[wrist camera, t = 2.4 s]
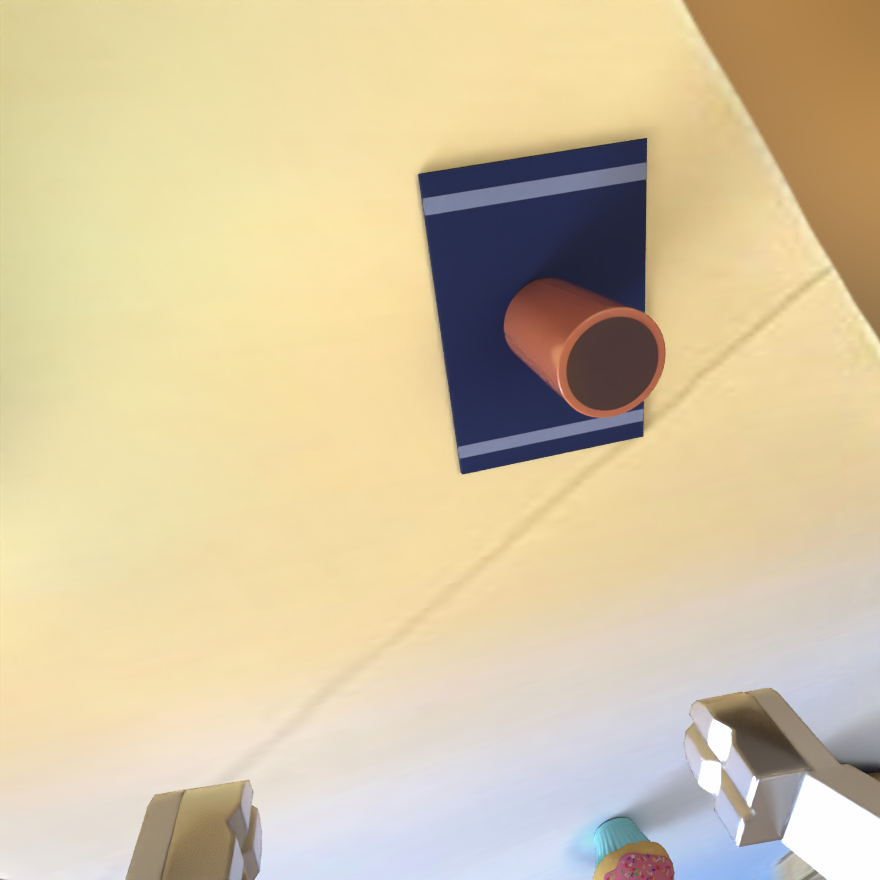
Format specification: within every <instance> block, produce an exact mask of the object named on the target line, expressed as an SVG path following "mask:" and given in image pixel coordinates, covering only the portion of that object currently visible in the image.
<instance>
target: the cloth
mask: <svg viewBox="0 0 880 880" xmlns="http://www.w3.org/2000/svg"><path fill="white" fill-rule="evenodd" d="M418 176H419V183H420V190H421V197H422V204H423V211H424V218H425V225H426V231H427V238H428V245H429V252H430V259H431V266H432V273H433V280H434V287H435V294H436V301H437V308H438V315H439V322H440V329H441V336H442V343H443V350H444V357H445V364H446V371H447V378H448V385H449V392H450V399H451V406H452V413H453V420H454V427H455V434H456V441H457V448H458V455H459V462H460V469H461V473H462V474H467V473H472V472H476V471H481V470H486V469H491V468H495V467H500V466H505V465H510V464H514V463H519V462H524V461H529V460H533V459H538V458H543V457H548V456H552V455H557V454H562V453H567V452H571V451H576V450H581V449H586V448H590V447H595V446H600V445H605V444H609V443H614V442H619V441H624V440H628V439H633V438H638V437H643V420H644V401H642V402H641V403H640V404H639V405H637V406H636V407H634V408H633V409H631V410H629V411H627V412H626V413H623V414H620V415H617V416H613V417H606V418H597V417H591V416H587V415H584V414H582V413H580V412H578V411H577V410H575V409H574V408H573V407H571V406H570V405H569V404H568V403H567V402H566V401H565V400H564V399H563V398H562V397H561V396H559V395H558V394H557V393H556V392H555V391H554V390H553V389H552V388H551V387H550V386H549V385H548V384H546V383H545V382H544V381H543V380H542V379H541V378H540V377H539V376H538V375H537V374H536V373H535V372H533V371H532V370H531V369H530V368H529V367H528V366H527V365H526V364H525V363H524V362H523V361H522V360H521V359H519V358H518V357H517V356H516V355H515V354H514V353H513V351H512V350H511V349H510V347H509V346H508V343H507V341H506V338H505V333H504V320H505V315H506V311H507V309H508V306H509V304H510V302H511V301H512V299H513V298H514V296H515V295H516V294H517V293H518V292H519V291H520V290H521V289H522V288H523V287H525V286H526V285H528V284H529V283H531V282H533V281H536V280H538V279H542V278H559V279H563V280H566V281H568V282H571V283H573V284H575V285H578V286H580V287H583V288H585V289H588V290H590V291H593V292H595V293H598V294H600V295H602V296H605V297H607V298H610V299H612V300H615V301H617V302H620V303H622V304H625V305H627V306H629V307H632V308H634V309H637V310H639V311H641V312H643V313H645V257H646V179H647V138H644V139H637V140H631V141H625V142H618V143H612V144H606V145H599V146H593V147H587V148H580V149H574V150H567V151H561V152H555V153H548V154H542V155H536V156H529V157H523V158H517V159H510V160H504V161H498V162H491V163H485V164H479V165H472V166H466V167H459V168H453V169H447V170H440V171H434V172H428V173H421V174H418Z"/></svg>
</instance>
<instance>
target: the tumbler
mask: <svg viewBox="0 0 880 880" xmlns="http://www.w3.org/2000/svg"><path fill="white" fill-rule="evenodd" d="M504 333H505V338H506V341H507V343H508V346H509V347H510V349H511V350H512V351H513V353H514V354H515V355H516V356H517V357H518V358H519V359H521V360H522V361H523V362H524V363H525V364H526V365H527V366H528V367H529V368H530V369H531V370H532V371H533V372H535V373H536V374H537V375H538V376H539V377H540V378H541V379H542V380H543V381H544V382H545V383H546V384H548V385H549V386H550V387H551V388H552V389H553V390H554V391H555V392H556V393H557V394H558V395H559V396H561V397H562V398H563V399H564V400H565V401H566V402H567V403H568V404H569V405H570V406H571V407H573V408H574V409H575V410H577V411H578V412H580V413H582V414H584V415H587V416H591V417H597V418H606V417H613V416H617V415H620V414H623V413H626V412H627V411H629V410H631V409H633V408H634V407H636V406H637V405H639V404H640V403H641V402H642V401H644V400H645V399H646V398H647V396H648V395H649V394H650V393H651V392H652V390H653V389H654V388H655V386H656V384H657V383H658V381H659V379H660V377H661V374H662V371H663V368H664V363H665V343H664V339H663V336H662V333H661V331H660V329H659V327H658V326H657V324H656V323H655V322H654V321H653V320H652V319H651V318H650V317H649V316H648V315H646V314H645V313H643V312H641V311H639V310H637V309H634V308H632V307H629V306H627V305H625V304H622V303H620V302H617V301H615V300H612V299H610V298H607V297H605V296H602V295H600V294H598V293H595V292H593V291H590V290H588V289H585V288H583V287H580V286H578V285H575V284H573V283H571V282H568V281H566V280H563V279H559V278H542V279H538V280H536V281H533V282H531V283H529V284H528V285H526V286H525V287H523V288H522V289H521V290H520V291H519V292H518V293H517V294H516V295H515V296H514V298H513V299H512V301H511V302H510V304H509V306H508V309H507V311H506V315H505V320H504Z"/></svg>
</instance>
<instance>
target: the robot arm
mask: <svg viewBox="0 0 880 880" xmlns="http://www.w3.org/2000/svg"><path fill="white" fill-rule="evenodd" d="M689 715H690V717H691V718H692V720H693V721H694V723H693V724H692V725H691V726H690V727H689V728H688V729H687V730H686V732H685V739H684V748H685V753H686V758H687V761H688V764H689V766H690V768H691V771H692V773H693V775H694V776H695V778H696V780H697V782H698V783H699V785H700V786H701V787H703V788H704V789H706V790H707V791H709V792H710V793H712V794H713V795H714V796H715V800H714V810H715V812H716V813H717V815H718V817H719V818H720V820H721V822H722V823H723V825H724V827H725V828H726V830H727V832H728V833H729V835H730V837H731V838H732V840H733V842H734V843H735V845H736V847H741V846H747V845H753V844H758V843H764V842H769V841H775V840H781V839H783V840H782V843H783V844H785V845H786V846H787V847H788V848H789V849H791V850H792V851H793V852H794V853H796V854H797V855H798V856H799V857H801V858H802V859H803V860H804V861H805V862H807V863H808V864H809V865H810V866H812V867H813V868H814V869H815V870H816V871H818V872H819V873H820V874H821V875H823V876H824V877H825V878H826V879H827V880H880V782H879V781H878V780H876V779H874V778H872V777H871V776H869V775H867V774H865V773H864V772H862V771H860V770H858V769H857V768H855V767H853V766H851V765H850V764H845V765H840V763H839V762H838V761H837V760H836V759H835V758H834V756H833V755H832V754H831V753H830V752H829V751H828V750H827V748H826V747H825V746H824V745H823V744H822V743H821V741H820V740H819V739H818V738H817V737H816V736H815V735H814V733H813V732H812V731H811V730H810V729H809V728H808V726H807V725H806V724H805V723H804V722H803V721H802V720H801V718H800V717H799V716H798V715H797V714H796V713H795V711H794V710H793V709H792V708H791V707H790V706H789V705H788V703H787V702H786V701H785V700H784V699H783V698H782V696H781V695H780V694H779V693H778V692H776V691H775V690H773V689H772V688H763V689H758V690H754V691H749V692H744V693H743V692H738V693H733V694H728V695H723V696H717V697H712V698H707V699H702V700H697V701H695V702H694V703H693V704H692V705H691V709H690V713H689ZM252 798H253V790H252V787H251V784H250V780H244V781H238V782H231V783H225V784H219V785H212V786H206V787H200V788H193V789H185V790H179V791H174V792H168V793H162V794H156V795H154V797H153V798H152V800H151V802H150V803H149V805H148V807H147V810H146V814H145V817H144V820H143V823H142V827H141V830H140V833H139V837H138V840H137V843H136V846H135V850H134V853H133V856H132V860H131V863H130V866H129V869H128V873H127V876H126V879H125V880H254V879H255V878H256V876H257V875H258V873H259V872H260V863H261V853H262V829H261V820H260V815H259V811H258V809H257V808H256V807H254V806H252Z"/></svg>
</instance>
